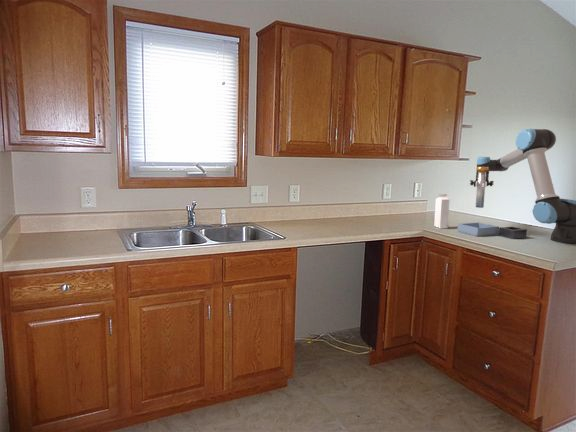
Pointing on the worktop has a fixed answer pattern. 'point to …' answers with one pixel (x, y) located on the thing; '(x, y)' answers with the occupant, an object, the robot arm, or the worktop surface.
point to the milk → (441, 211)
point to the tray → (478, 229)
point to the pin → (481, 186)
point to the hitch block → (512, 232)
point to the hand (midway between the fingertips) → (481, 184)
